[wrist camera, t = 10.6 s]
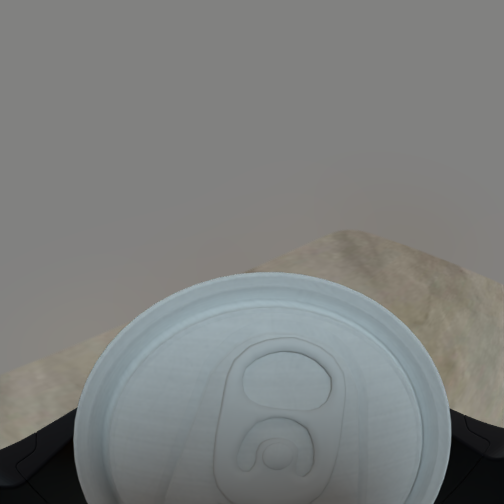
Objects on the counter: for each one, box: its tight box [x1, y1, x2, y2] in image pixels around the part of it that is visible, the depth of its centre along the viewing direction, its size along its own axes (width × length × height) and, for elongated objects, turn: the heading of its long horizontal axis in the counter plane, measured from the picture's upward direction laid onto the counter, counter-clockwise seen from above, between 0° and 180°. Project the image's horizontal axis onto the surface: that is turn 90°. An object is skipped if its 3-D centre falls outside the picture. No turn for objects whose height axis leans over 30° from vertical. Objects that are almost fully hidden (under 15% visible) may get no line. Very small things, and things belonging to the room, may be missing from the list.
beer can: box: [73, 272, 451, 504], centre depth 9 cm, size 6×6×15 cm
